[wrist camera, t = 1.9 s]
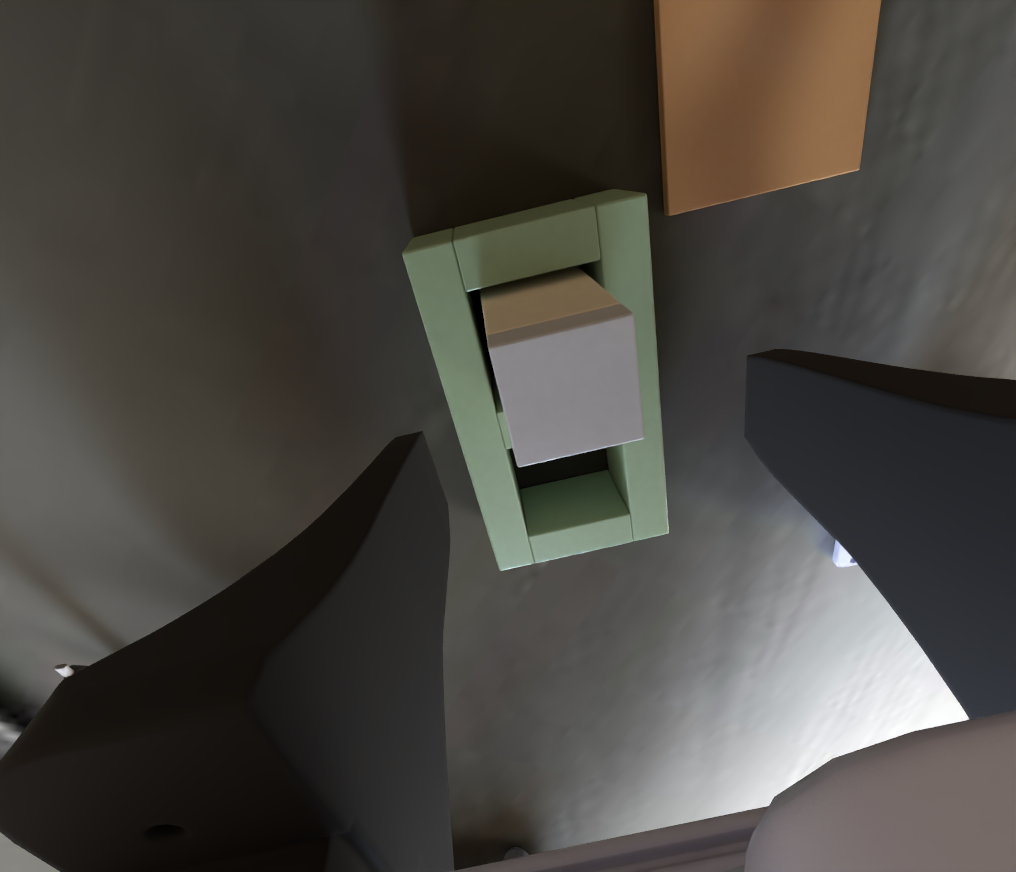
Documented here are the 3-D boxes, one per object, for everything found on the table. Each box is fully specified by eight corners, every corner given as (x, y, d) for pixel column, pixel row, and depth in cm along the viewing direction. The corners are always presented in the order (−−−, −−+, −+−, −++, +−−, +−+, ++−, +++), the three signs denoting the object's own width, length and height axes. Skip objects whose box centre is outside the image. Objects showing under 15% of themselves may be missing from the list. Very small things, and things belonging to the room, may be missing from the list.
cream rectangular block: (569, 257, 19) (634, 312, 12) (582, 346, 20) (645, 439, 13) (477, 279, 19) (487, 347, 12) (498, 365, 20) (517, 468, 13)
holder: (615, 187, 18) (647, 192, 14) (643, 487, 24) (669, 534, 21) (411, 237, 18) (401, 252, 15) (494, 521, 24) (499, 571, 21)
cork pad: (882, -92, 14) (895, -100, 14) (850, 170, 18) (860, 170, 17) (650, -33, 15) (656, -39, 14) (663, 215, 18) (668, 216, 18)
